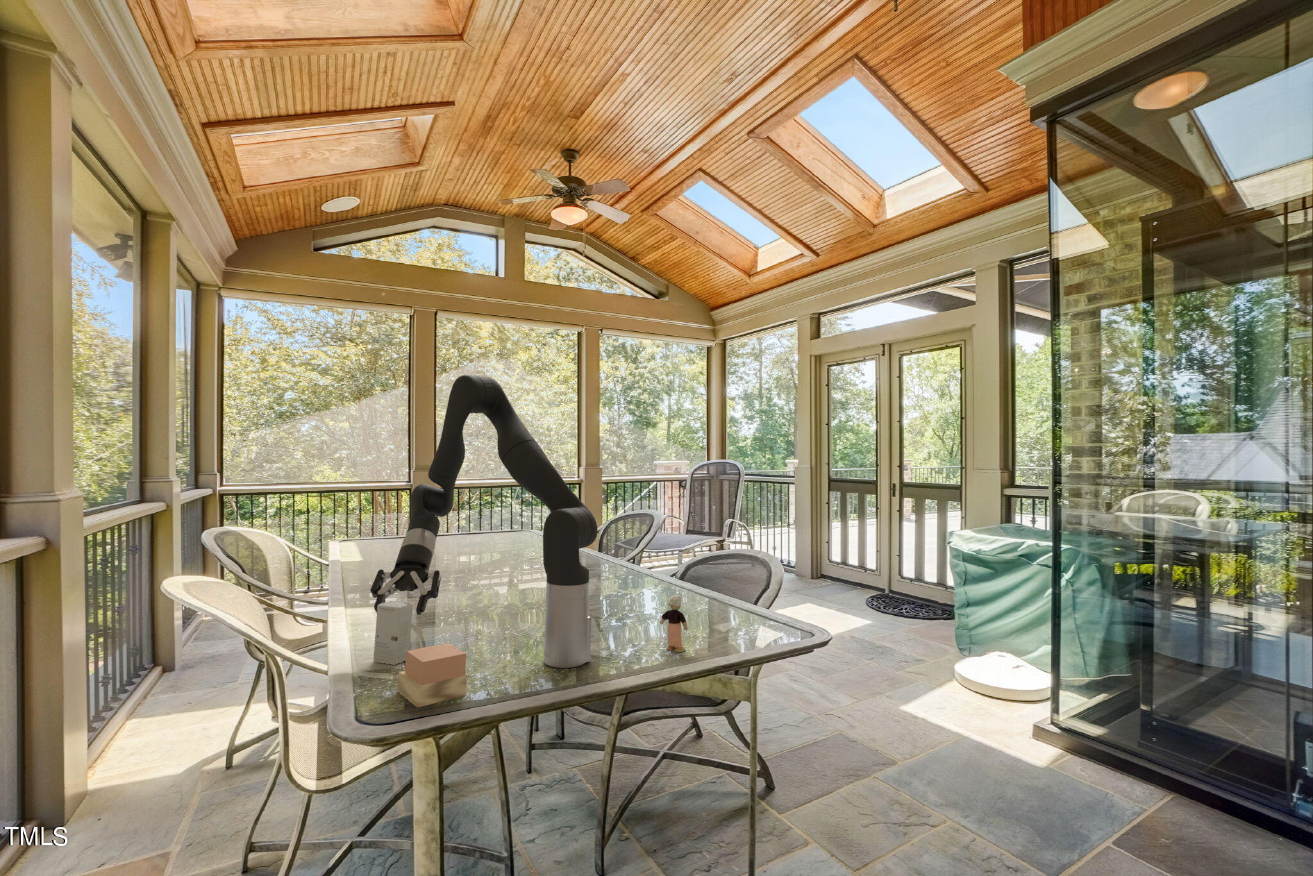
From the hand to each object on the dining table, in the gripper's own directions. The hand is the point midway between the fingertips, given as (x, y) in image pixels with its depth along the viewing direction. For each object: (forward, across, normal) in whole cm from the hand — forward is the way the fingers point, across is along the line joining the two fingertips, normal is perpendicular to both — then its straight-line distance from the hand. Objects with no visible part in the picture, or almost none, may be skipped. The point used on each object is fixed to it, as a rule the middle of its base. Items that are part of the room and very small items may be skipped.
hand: (398, 612), depth 133 cm
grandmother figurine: (+3, +62, +10) cm, 62 cm away
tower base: (+22, +13, -8) cm, 27 cm away
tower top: (+20, +14, -11) cm, 26 cm away
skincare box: (+9, 0, +5) cm, 10 cm away
